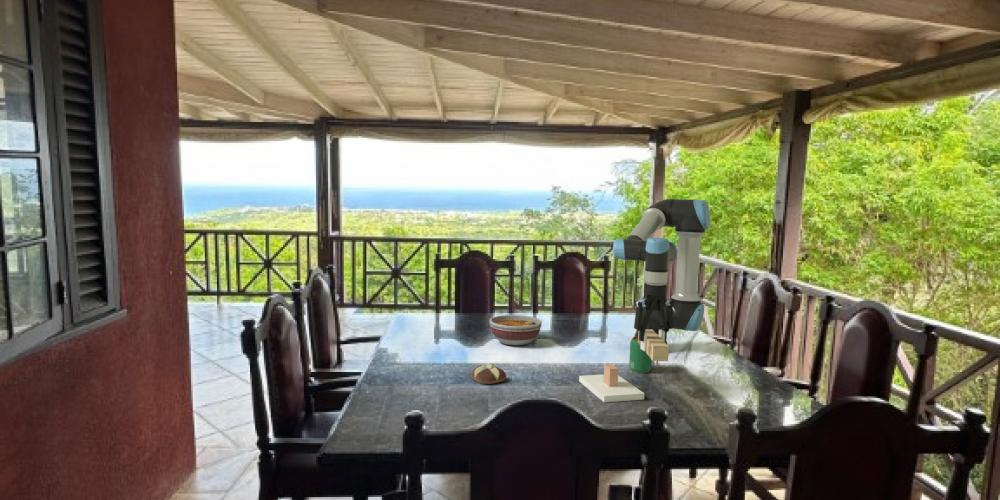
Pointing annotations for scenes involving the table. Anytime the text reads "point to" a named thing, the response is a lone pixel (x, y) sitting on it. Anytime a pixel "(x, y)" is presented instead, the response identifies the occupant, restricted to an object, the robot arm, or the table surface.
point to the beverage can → (638, 358)
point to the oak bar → (655, 346)
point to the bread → (488, 374)
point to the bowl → (515, 329)
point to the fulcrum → (611, 386)
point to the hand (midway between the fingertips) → (652, 349)
